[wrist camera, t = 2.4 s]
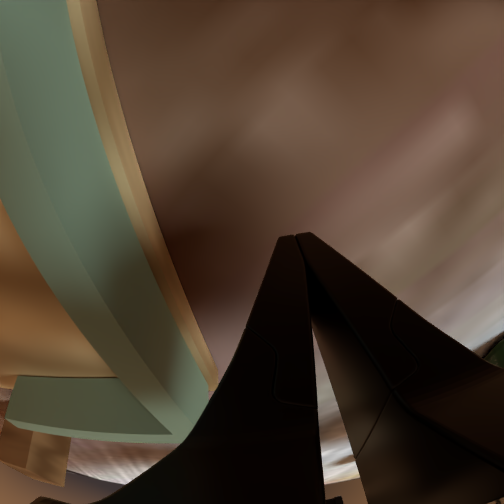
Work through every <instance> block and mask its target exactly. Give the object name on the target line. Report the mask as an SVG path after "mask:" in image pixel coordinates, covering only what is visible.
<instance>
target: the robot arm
mask: <svg viewBox="0 0 504 504" xmlns="http://www.w3.org/2000/svg"><path fill="white" fill-rule="evenodd" d="M312 329H313V332H314V335H315V338H316V341H317V343H318V346H319V349H320V352H321V355H322V358H323V361H324V364H325V367H326V370H327V373H328V376H329V379H330V382H331V385H332V388H333V391H334V394H335V397H336V401H337V404H338V407H339V410H340V413H341V416H342V419H343V422H344V426H345V429H346V432H347V435H348V438H349V441H350V445H351V448H352V451H353V454H354V458H355V459H356V460H355V461H356V465H357V468H358V471H359V474H360V478H361V481H362V484H363V488H364V491H365V494H366V498H367V502H368V504H504V368H501V367H498V366H496V365H494V364H492V363H489V362H488V361H486V360H484V359H483V358H481V357H480V356H478V355H477V354H475V353H474V352H472V351H471V350H469V349H468V348H466V347H465V346H464V345H462V344H461V343H459V342H458V341H456V340H455V339H453V338H452V337H450V336H448V335H447V334H445V333H444V332H442V331H441V330H440V329H438V328H437V327H435V326H434V325H432V324H431V323H430V322H428V321H427V320H425V319H424V318H423V317H421V316H420V315H419V314H417V313H416V312H415V311H413V310H412V309H411V308H410V307H408V306H407V305H406V304H405V303H403V302H402V301H401V300H397V297H396V296H394V295H393V294H392V293H391V292H389V291H388V290H387V289H385V288H384V287H383V286H382V285H380V284H379V283H378V282H376V281H375V280H374V279H373V278H371V277H370V276H369V275H367V274H366V273H365V272H364V271H362V270H361V269H360V268H358V267H357V266H356V265H354V264H353V263H352V262H350V261H349V260H348V259H346V258H345V257H344V256H343V255H341V254H340V253H339V252H337V251H336V250H334V249H333V248H332V247H330V246H329V245H328V244H326V243H325V242H324V241H322V240H321V239H320V238H318V237H317V236H316V235H314V234H313V233H311V232H306V233H299V234H296V235H295V236H294V235H287V236H281V237H279V238H278V240H277V243H276V246H275V248H274V251H273V254H272V257H271V259H270V262H269V265H268V268H267V270H266V273H265V276H264V278H263V281H262V284H261V287H260V289H259V292H258V295H257V297H256V300H255V303H254V305H253V308H252V311H251V313H250V316H249V319H248V321H247V324H246V328H245V329H244V332H243V334H242V337H241V340H240V342H239V344H238V347H237V349H236V351H235V354H234V356H233V358H232V360H231V362H230V364H229V366H228V368H227V370H226V372H225V374H224V376H223V378H222V379H221V381H220V383H219V385H218V386H217V388H216V390H215V392H214V393H213V395H212V397H211V399H210V400H209V402H208V404H207V405H206V407H205V409H204V411H203V412H202V414H201V416H200V417H199V419H198V421H197V422H196V424H195V426H194V427H193V429H192V430H191V432H190V433H189V435H188V436H187V437H186V438H185V440H184V441H183V442H182V443H181V444H180V445H179V446H178V447H177V448H176V449H175V450H174V451H172V452H171V453H170V454H168V455H167V456H166V457H164V458H163V459H162V460H160V461H159V462H157V463H156V464H155V465H153V466H152V467H151V468H149V469H148V470H146V471H145V472H143V473H142V474H141V475H139V476H138V477H136V478H135V479H133V480H132V481H131V482H129V483H128V484H126V485H125V486H123V487H122V488H120V489H119V490H117V491H116V492H114V493H113V494H111V495H109V496H107V497H106V498H104V499H102V500H99V501H97V502H93V503H90V504H343V500H342V497H341V496H338V497H334V498H333V499H328V500H325V488H324V477H323V467H322V456H321V447H320V436H319V421H318V404H317V387H316V373H315V359H314V346H313V334H312ZM30 504H69V503H65V502H62V501H58V500H54V499H51V498H47V497H38V498H37V499H35V500H34V501H33V502H32V503H30Z"/></svg>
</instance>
